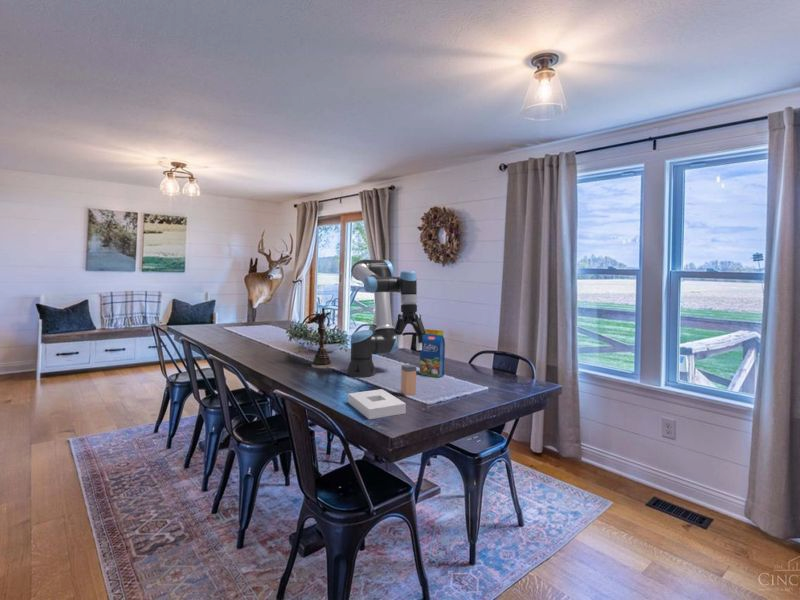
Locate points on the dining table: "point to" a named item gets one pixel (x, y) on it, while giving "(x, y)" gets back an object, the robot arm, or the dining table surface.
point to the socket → (376, 403)
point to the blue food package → (432, 353)
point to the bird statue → (321, 342)
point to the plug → (408, 379)
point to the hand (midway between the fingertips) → (409, 349)
